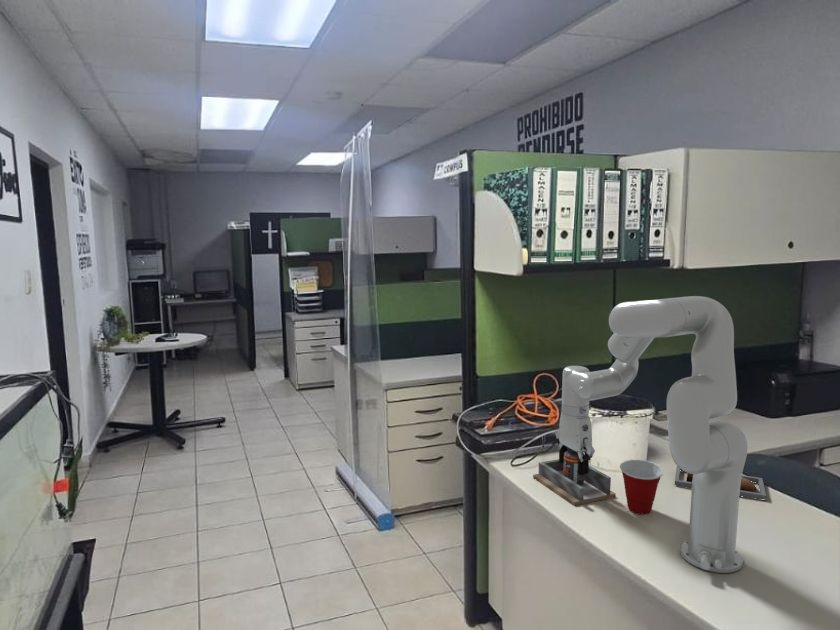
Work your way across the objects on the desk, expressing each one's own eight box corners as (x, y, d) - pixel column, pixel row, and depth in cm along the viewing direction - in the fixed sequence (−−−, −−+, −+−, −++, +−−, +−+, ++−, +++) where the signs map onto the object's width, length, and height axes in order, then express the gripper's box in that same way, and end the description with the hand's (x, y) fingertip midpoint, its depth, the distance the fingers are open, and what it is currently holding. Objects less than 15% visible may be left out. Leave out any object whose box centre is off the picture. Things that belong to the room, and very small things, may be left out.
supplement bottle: (558, 480, 173) (559, 443, 171) (575, 477, 175) (577, 440, 173) (570, 488, 167) (572, 450, 166) (588, 485, 169) (589, 447, 168)
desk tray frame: (765, 500, 162) (765, 495, 162) (674, 485, 172) (674, 480, 172) (761, 483, 173) (762, 478, 173) (676, 469, 183) (676, 465, 183)
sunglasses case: (758, 485, 171) (758, 470, 168) (755, 505, 167) (755, 490, 163) (691, 472, 181) (690, 457, 178) (686, 490, 177) (685, 476, 173)
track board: (615, 496, 165) (616, 476, 164) (573, 505, 160) (574, 484, 159) (571, 470, 183) (572, 452, 182) (533, 477, 178) (533, 458, 177)
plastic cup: (619, 517, 153) (621, 473, 151) (616, 499, 163) (618, 457, 162) (664, 521, 150) (667, 476, 149) (658, 503, 161) (660, 461, 159)
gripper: (606, 416, 162) (603, 477, 164) (567, 400, 178) (566, 455, 180) (583, 419, 159) (581, 481, 161) (546, 403, 175) (545, 459, 177)
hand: (573, 467), depth 171 cm, fingers open, 8 cm apart
